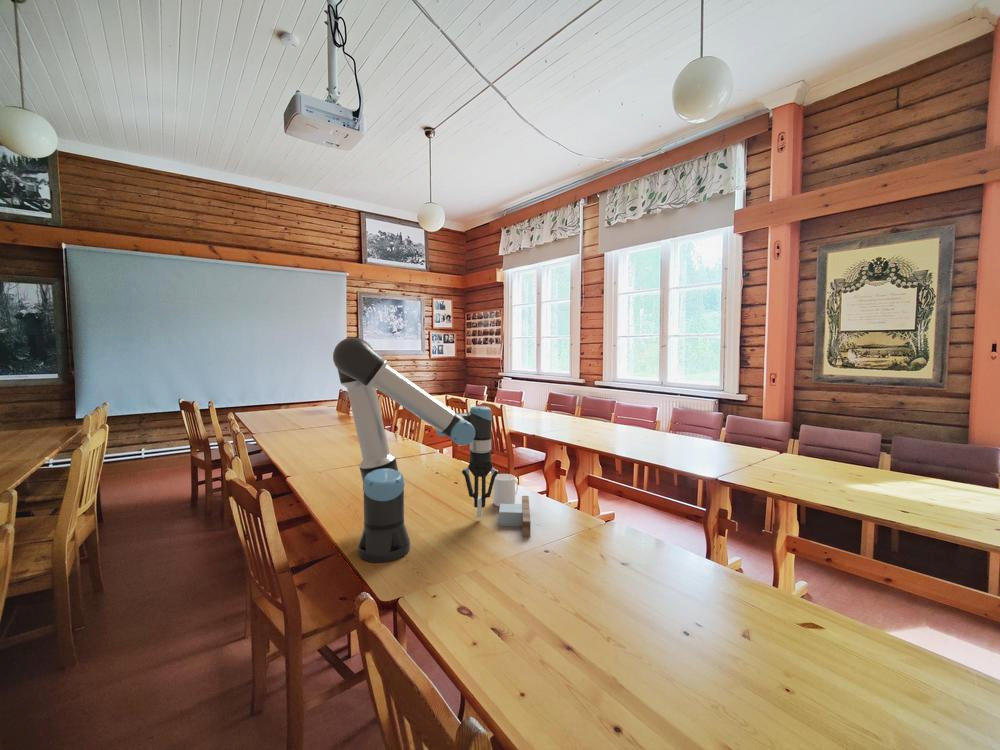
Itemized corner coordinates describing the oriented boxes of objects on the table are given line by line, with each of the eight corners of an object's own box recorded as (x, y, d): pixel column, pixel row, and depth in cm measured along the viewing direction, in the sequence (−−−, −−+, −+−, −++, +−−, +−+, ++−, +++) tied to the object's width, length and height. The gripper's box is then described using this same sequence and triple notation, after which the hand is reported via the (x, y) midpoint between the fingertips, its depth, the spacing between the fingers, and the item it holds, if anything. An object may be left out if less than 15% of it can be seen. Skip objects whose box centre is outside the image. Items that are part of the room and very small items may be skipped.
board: (530, 536, 138) (530, 521, 138) (522, 536, 138) (522, 520, 138) (528, 508, 162) (528, 495, 162) (521, 508, 162) (521, 495, 162)
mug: (525, 501, 170) (525, 475, 169) (503, 509, 161) (503, 481, 161) (510, 496, 176) (510, 470, 175) (488, 503, 168) (488, 476, 167)
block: (522, 526, 146) (522, 512, 146) (499, 526, 147) (499, 512, 146) (522, 517, 154) (522, 504, 154) (500, 517, 155) (500, 503, 154)
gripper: (499, 448, 153) (498, 512, 154) (463, 447, 153) (462, 511, 155) (498, 453, 145) (497, 520, 147) (460, 452, 146) (459, 519, 147)
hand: (479, 516), depth 151 cm, fingers closed
